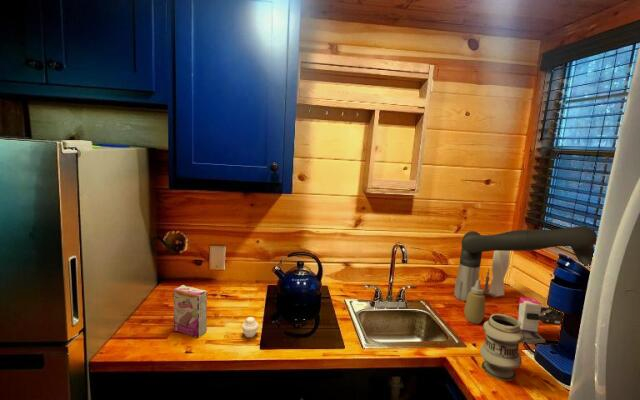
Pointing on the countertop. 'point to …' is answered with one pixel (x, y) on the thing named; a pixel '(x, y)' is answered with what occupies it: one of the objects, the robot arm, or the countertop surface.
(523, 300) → the supplement box
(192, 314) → the candy bar box
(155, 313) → the countertop surface
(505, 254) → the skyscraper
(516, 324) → the apothecary jar
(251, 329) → the white lidded pot
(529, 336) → the socket collar
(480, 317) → the squeeze bottle
